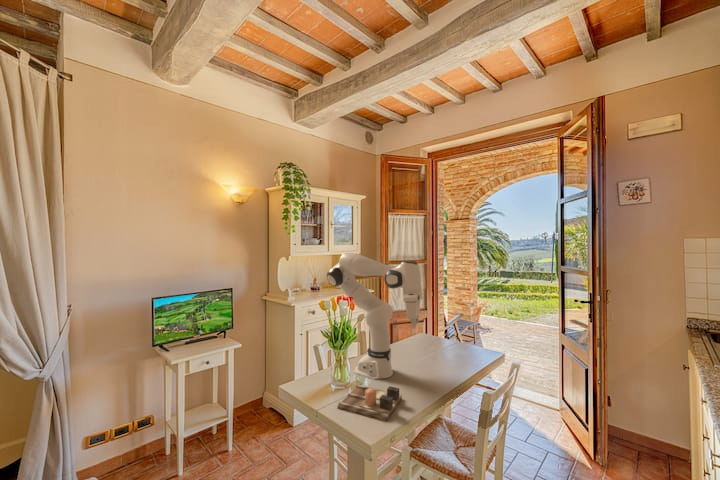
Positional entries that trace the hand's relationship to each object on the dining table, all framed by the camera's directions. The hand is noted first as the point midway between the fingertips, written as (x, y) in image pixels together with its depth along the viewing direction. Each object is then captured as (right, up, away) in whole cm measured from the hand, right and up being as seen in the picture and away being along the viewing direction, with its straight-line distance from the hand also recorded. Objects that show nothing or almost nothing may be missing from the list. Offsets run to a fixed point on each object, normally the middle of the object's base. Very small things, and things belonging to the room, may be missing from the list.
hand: (415, 325), depth 144 cm
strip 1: (-18, -36, -5) cm, 40 cm away
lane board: (-21, -37, +1) cm, 42 cm away
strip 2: (-14, -36, +3) cm, 38 cm away
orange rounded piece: (-21, -35, -3) cm, 41 cm away
